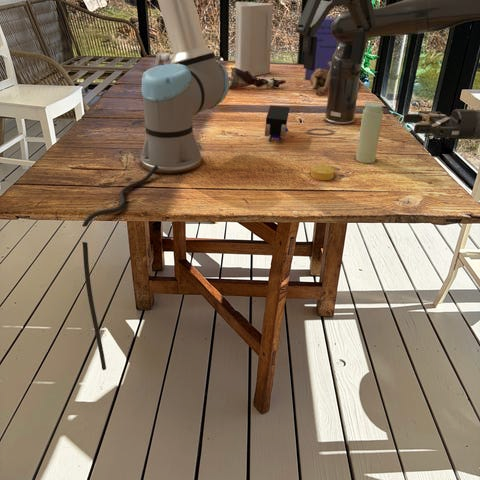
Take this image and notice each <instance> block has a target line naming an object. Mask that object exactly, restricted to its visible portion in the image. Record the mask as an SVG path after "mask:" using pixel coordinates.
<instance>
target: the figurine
mask: <svg viewBox="0 0 480 480" xmlns="http://www.w3.org/2000/svg"><path fill="white" fill-rule="evenodd" d="M230 69H231V72H230V73H231V74H230V76H229V89H241V88H247V87H249V86H255V87H256V88H262V87H268V88H271V89H273V88H280V86H281V85H284V84H286V83H287V80H285V79H275V78H274V77H272V78H265V77H262V78H261V77H257V76H252V75H251V73H250V72H249V71H245V72H244V71H242V70H240V69H237V68H235V67H232V66H231V67H230Z"/></svg>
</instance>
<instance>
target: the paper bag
mask: <svg viewBox="0 0 480 480" xmlns="http://www.w3.org/2000/svg"><path fill="white" fill-rule="evenodd" d="M273 8H274V4H273V3H269V2H267V3H266V2H265V3H264V2H252V1H235V59H234V60H235V62H234V63H235V65H234V66H235V67H234V68H237V69H240V70H242V71H244V72H245V71H249V72H250V73H251V75H252V76H256V77H257V76H259V75H260V76H261V75H266V74H270V73H271V56H272V55H271V54H272V33H273V32H272V31H273V10H274V9H273Z"/></svg>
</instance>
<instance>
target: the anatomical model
mask: <svg viewBox="0 0 480 480" xmlns="http://www.w3.org/2000/svg"><path fill="white" fill-rule="evenodd" d="M327 64H328V66H330V70H324V69H320V68H318V69H316V70H315V72H314V73H313V74H312V76H311V78H310V79H309V82H310V85H311V86H312V90H314V91H315V95H316V96H318V95H319V96H322V94H325V92H328V90H329V81H330V71H331V61H330V62H328V63H327Z"/></svg>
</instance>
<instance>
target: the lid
mask: <svg viewBox="0 0 480 480" xmlns="http://www.w3.org/2000/svg"><path fill="white" fill-rule="evenodd" d="M310 176H311V178H312V179H314V180H318V181H330V180H332V179H334V176H335V168H334V167H333V166H330V165H327V164H315V165H313V166H311V170H310Z"/></svg>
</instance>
